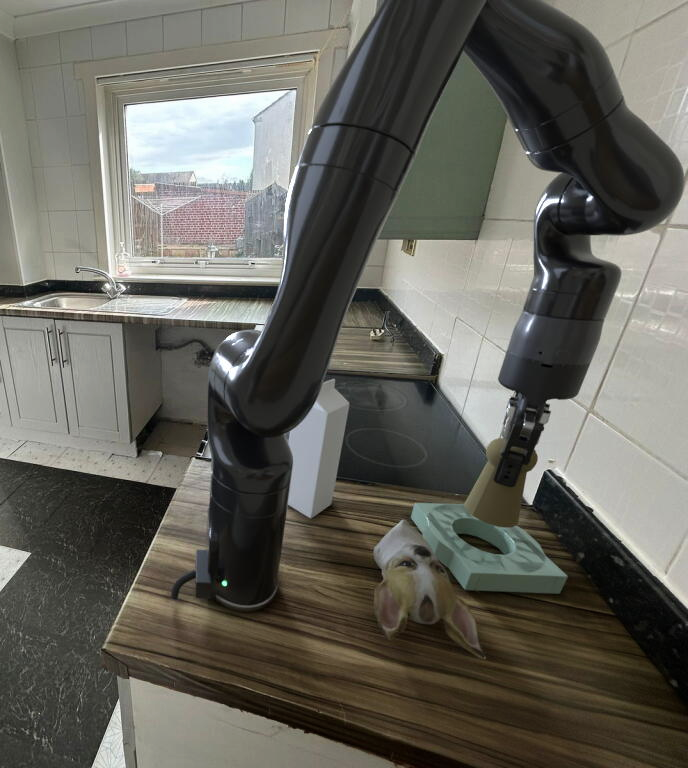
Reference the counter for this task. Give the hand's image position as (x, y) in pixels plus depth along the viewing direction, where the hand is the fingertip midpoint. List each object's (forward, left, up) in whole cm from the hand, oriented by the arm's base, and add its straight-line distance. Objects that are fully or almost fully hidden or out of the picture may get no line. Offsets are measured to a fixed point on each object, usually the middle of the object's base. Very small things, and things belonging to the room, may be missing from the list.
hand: (504, 473), depth 54 cm
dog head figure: (-14, -10, -14) cm, 22 cm away
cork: (0, 0, -7) cm, 7 cm away
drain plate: (0, 0, -13) cm, 13 cm away
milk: (-22, +10, -14) cm, 28 cm away
